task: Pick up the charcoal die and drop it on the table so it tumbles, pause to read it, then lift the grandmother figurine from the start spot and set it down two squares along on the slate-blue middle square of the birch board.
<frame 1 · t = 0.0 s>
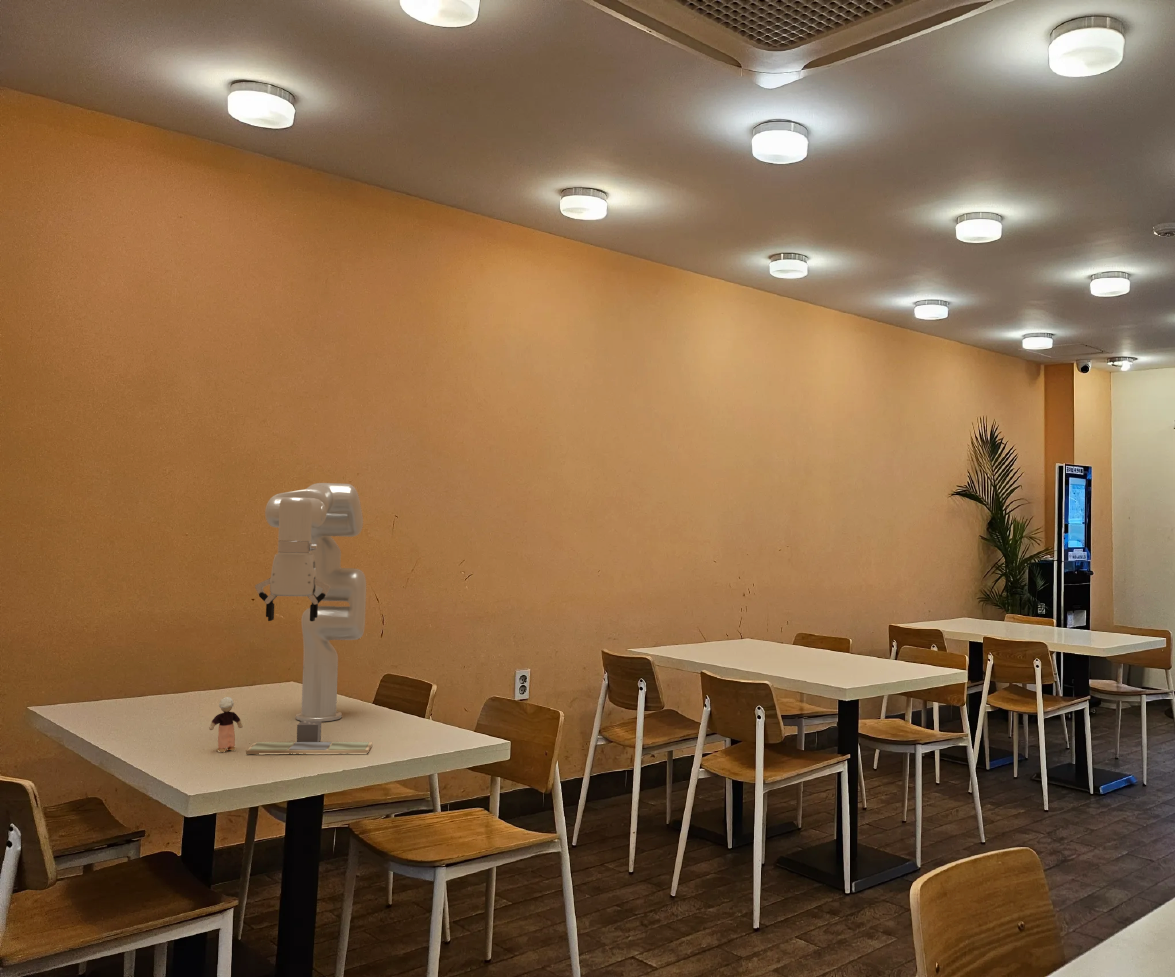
hand: (291, 620, 228), 31 cm above the table, tool pointing down, fingers open, 9 cm apart
die: (308, 743, 238), on the table
grandmother figurine: (224, 751, 227), on the table
board: (310, 750, 229), on the table
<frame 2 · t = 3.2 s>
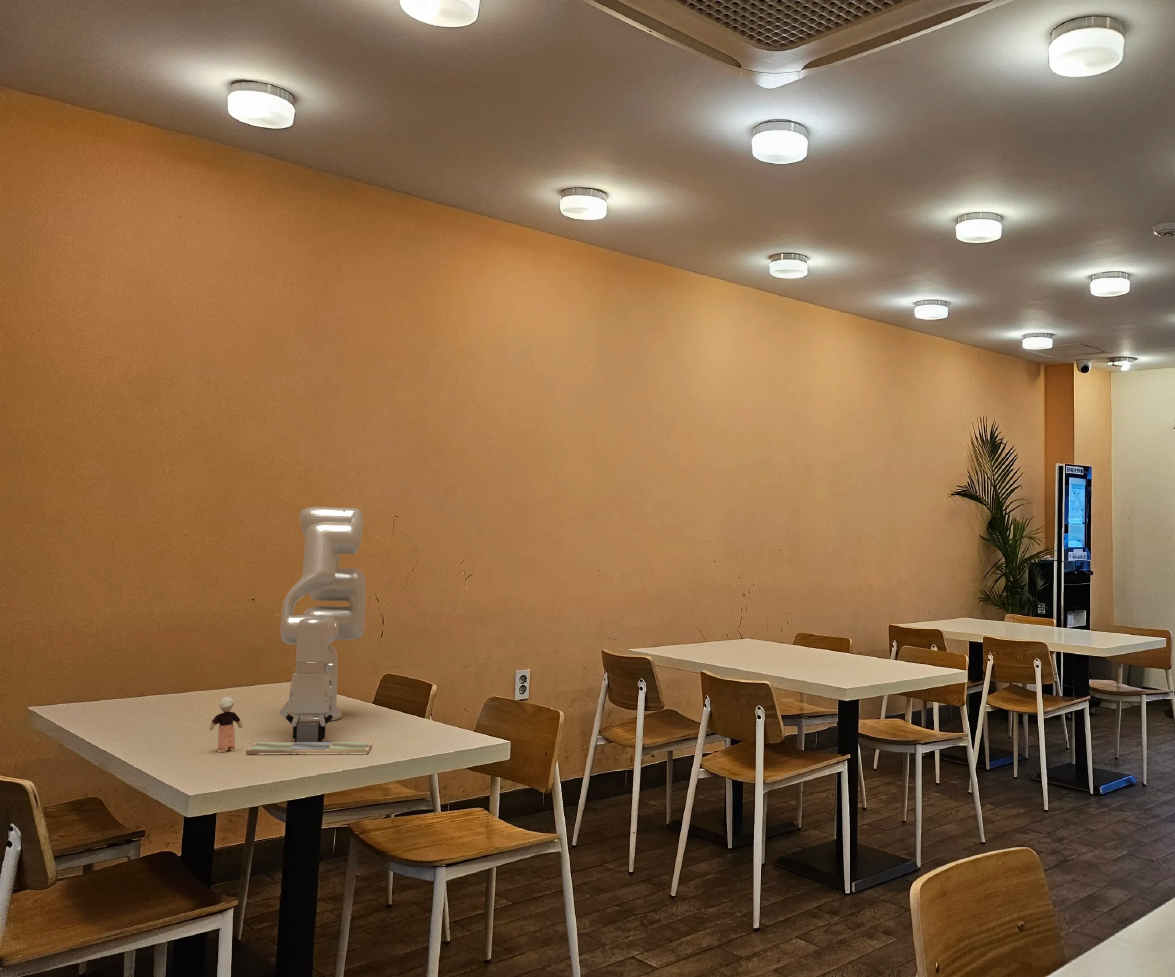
hand: (308, 740, 238), 0 cm above the table, tool pointing down, fingers closed on die, 4 cm apart
die: (308, 743, 238), on the table, touching gripper
everything else where it was.
when the fingers open (10 cm above the table, at t = 5.6 s): die drops 10 cm, on the table.
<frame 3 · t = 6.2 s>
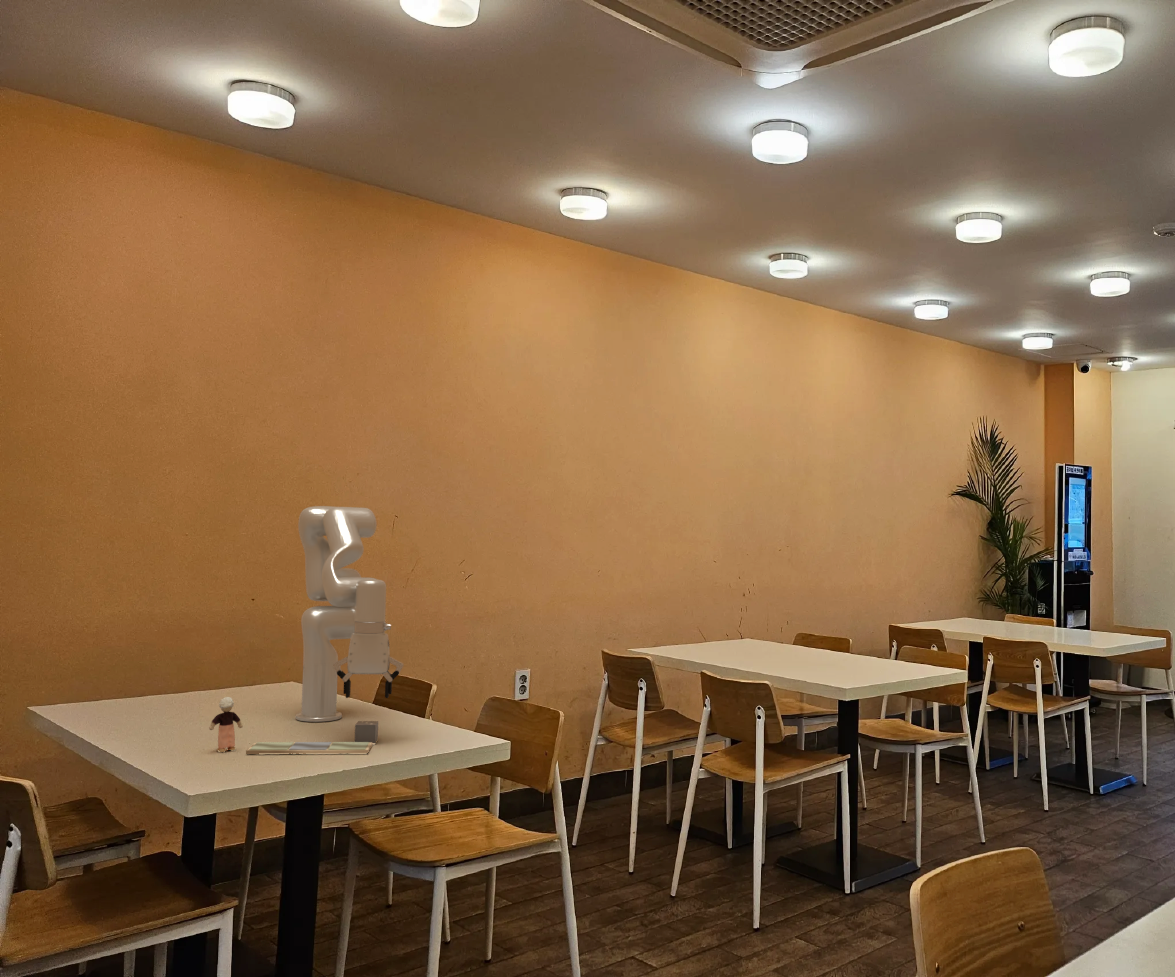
hand: (367, 697, 240), 11 cm above the table, tool pointing down, fingers open, 9 cm apart
die: (366, 743, 240), on the table
everything else where it was.
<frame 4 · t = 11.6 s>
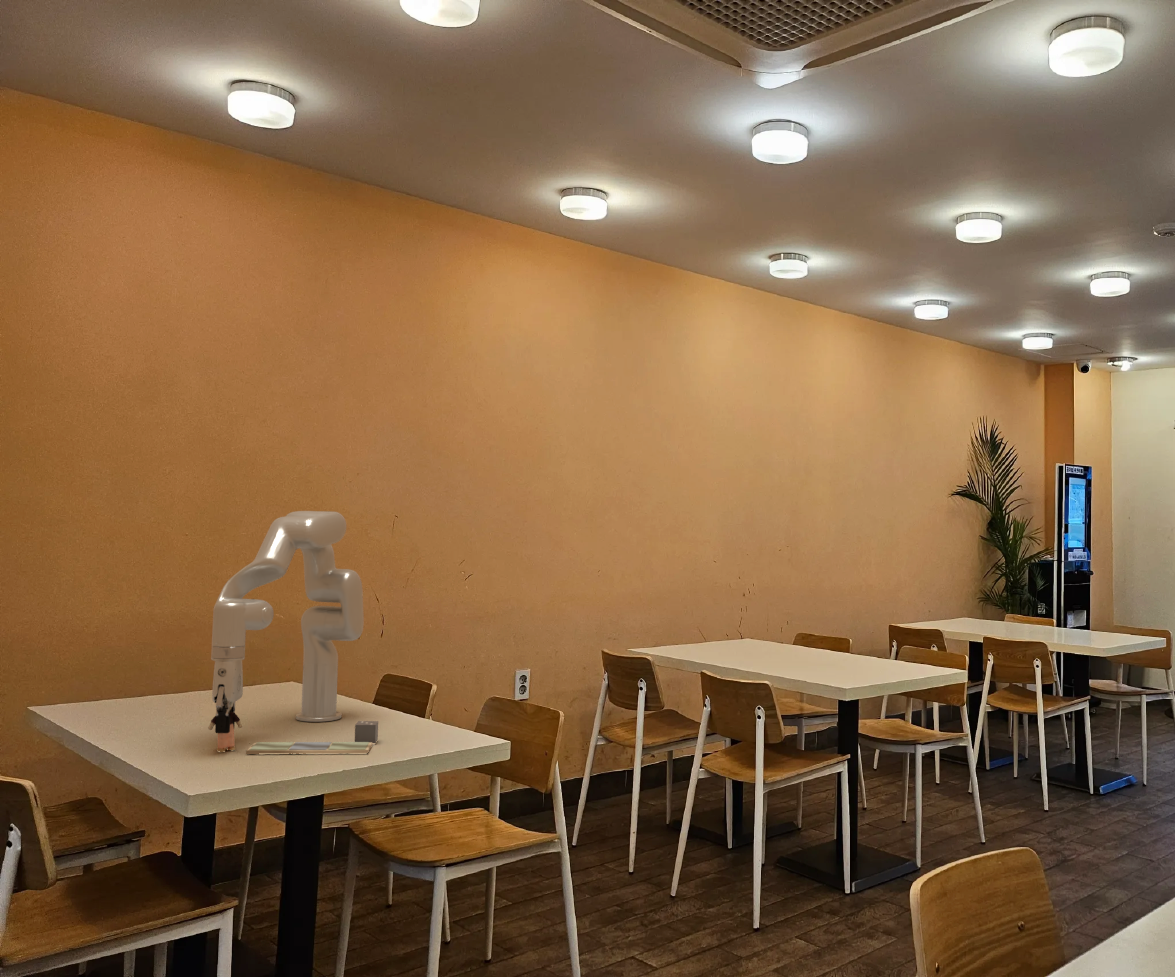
hand: (224, 730, 227), 5 cm above the table, tool pointing down, fingers closed on grandmother figurine, 3 cm apart
grandmother figurine: (223, 751, 227), on the table, touching gripper
everything else where it was.
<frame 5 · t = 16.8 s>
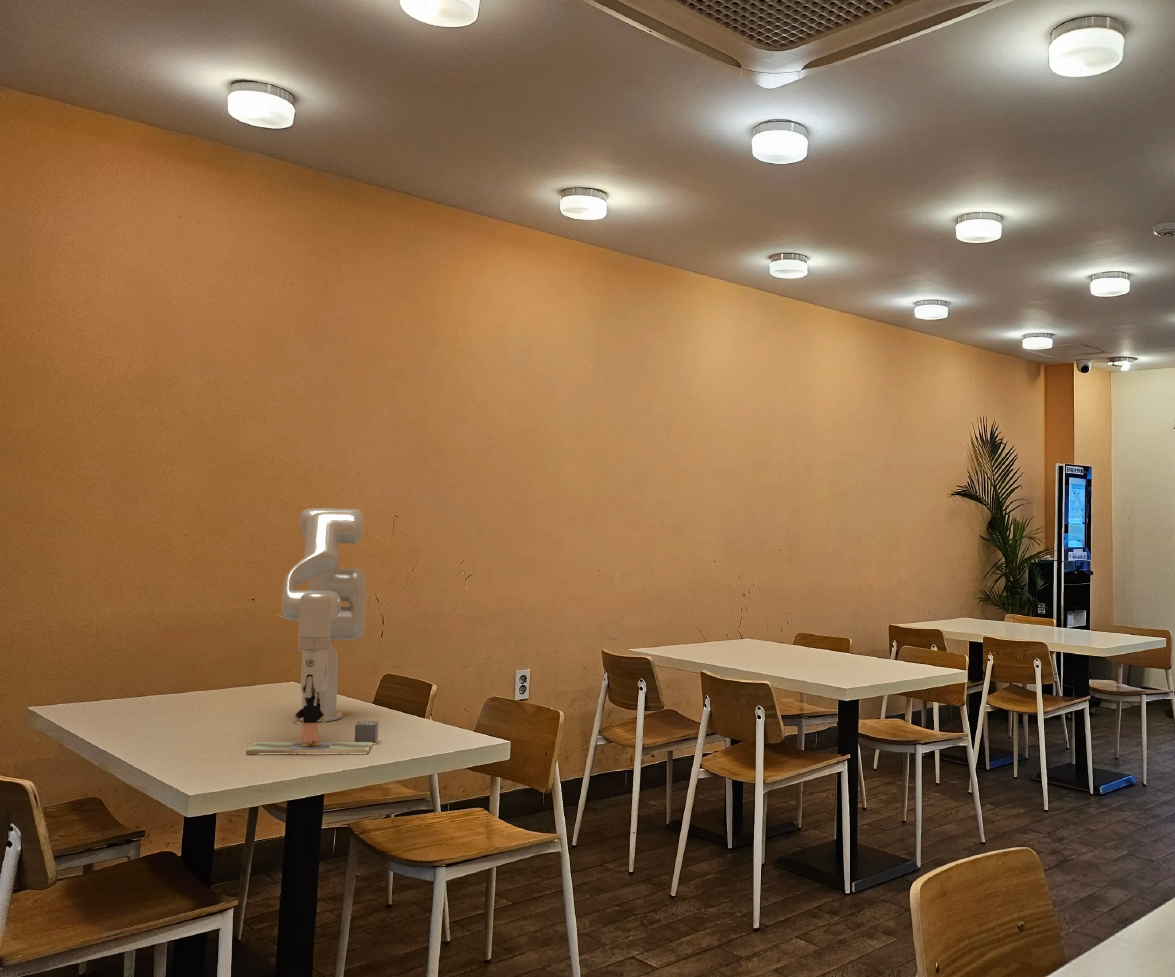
hand: (311, 720, 230), 7 cm above the table, tool pointing down, fingers closed on grandmother figurine, 3 cm apart
grandmother figurine: (308, 746, 229), point 1 cm above the table, touching board, gripper
everything else where it was.
when the fingers open (7 cm above the table, at t = 16.9 s): grandmother figurine stays where it is, resting on board.
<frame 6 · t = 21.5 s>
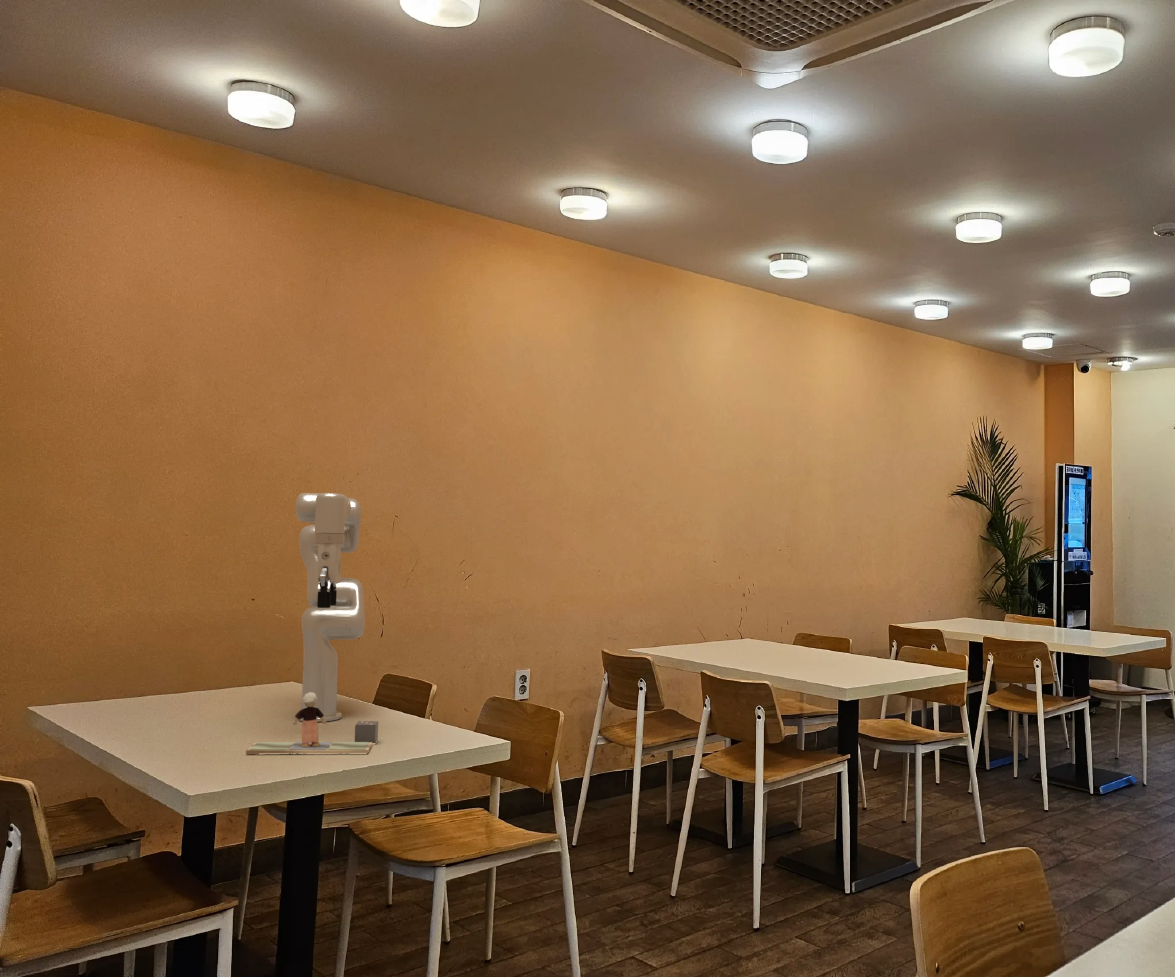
hand: (326, 606, 248), 33 cm above the table, tool pointing down, fingers open, 9 cm apart
grandmother figurine: (308, 746, 229), point 1 cm above the table, touching board
everything else where it was.
at the end: grandmother figurine inside the target area on the board (0.6 cm from its centre), point 1.0 cm above the board's base; grandmother figurine tilted 0°; die moved 14.1 cm from its start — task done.
